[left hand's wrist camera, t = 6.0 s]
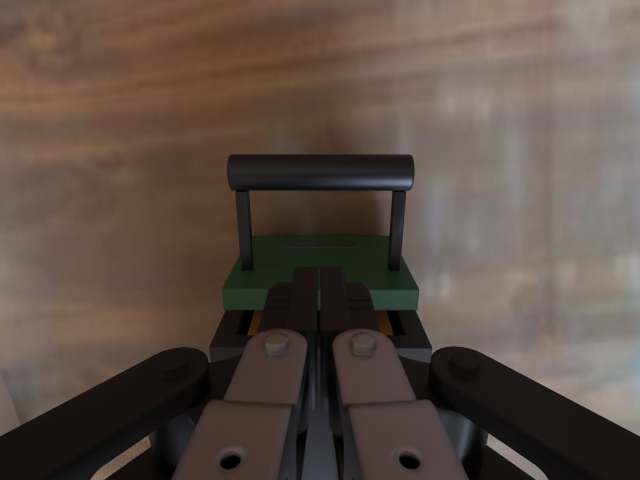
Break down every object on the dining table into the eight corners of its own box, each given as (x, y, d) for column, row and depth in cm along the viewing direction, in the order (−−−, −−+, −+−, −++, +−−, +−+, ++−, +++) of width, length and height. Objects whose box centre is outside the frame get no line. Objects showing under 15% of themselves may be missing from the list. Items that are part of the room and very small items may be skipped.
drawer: (243, 142, 24) (209, 162, 17) (398, 142, 24) (432, 162, 17) (263, 452, 33) (247, 554, 25) (377, 452, 33) (393, 554, 25)
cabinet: (245, 264, 28) (208, 347, 19) (395, 264, 28) (432, 347, 19) (260, 476, 35) (238, 611, 26) (380, 476, 35) (401, 612, 26)
